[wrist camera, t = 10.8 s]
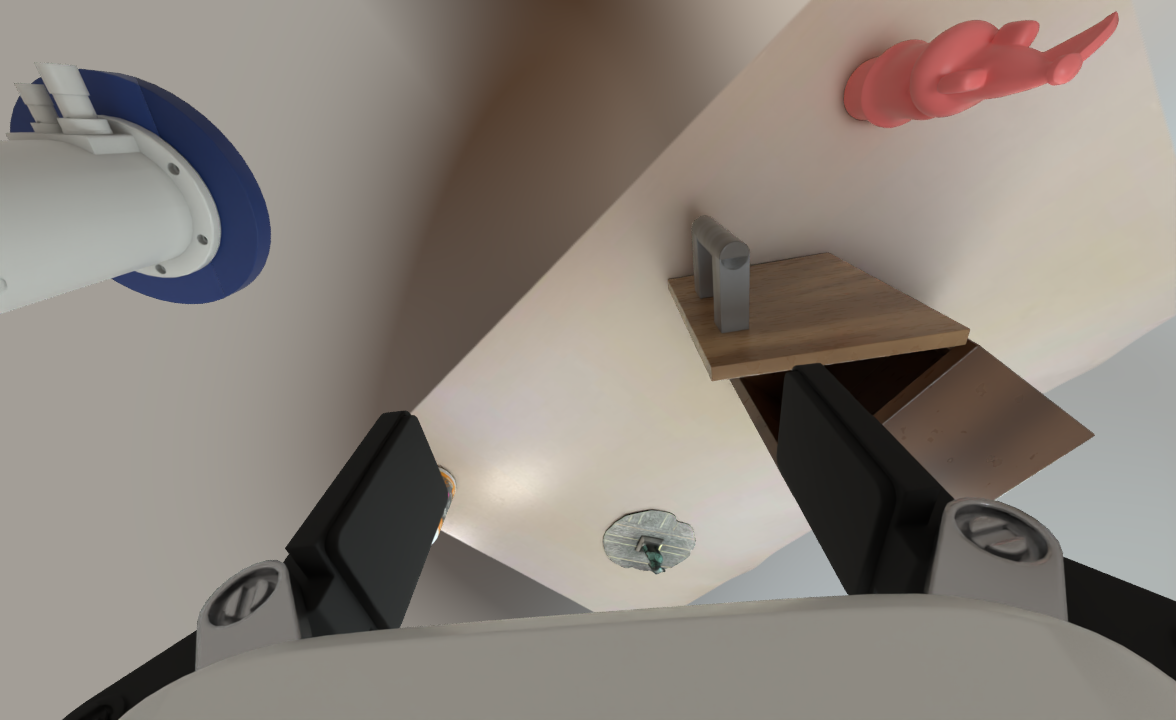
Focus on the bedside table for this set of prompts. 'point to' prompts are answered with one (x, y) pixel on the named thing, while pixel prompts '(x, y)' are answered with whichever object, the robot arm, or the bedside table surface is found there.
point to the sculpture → (649, 541)
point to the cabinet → (943, 415)
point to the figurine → (963, 70)
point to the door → (795, 310)
